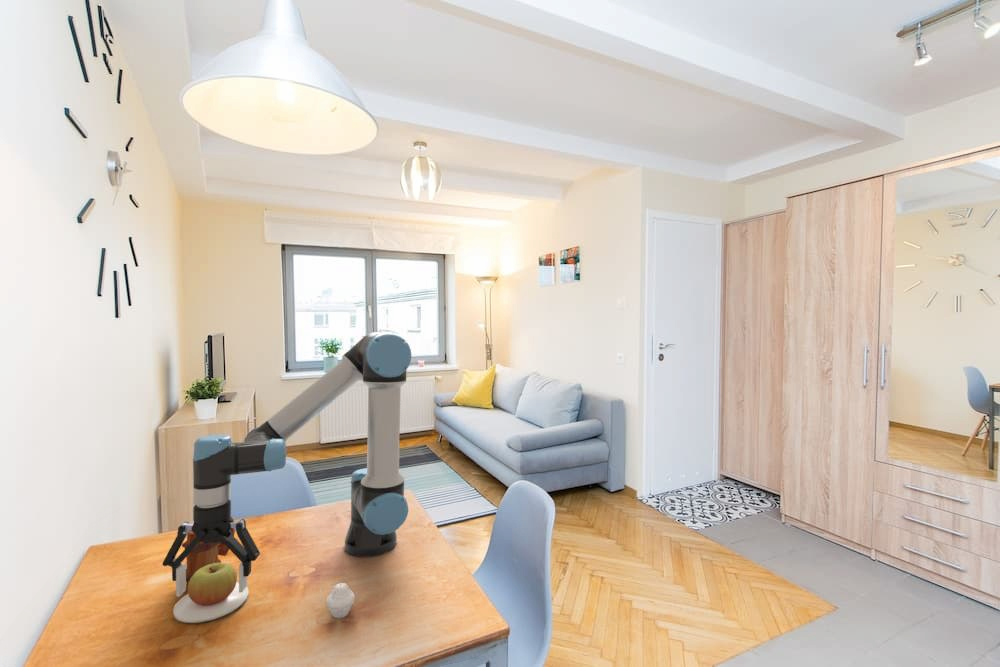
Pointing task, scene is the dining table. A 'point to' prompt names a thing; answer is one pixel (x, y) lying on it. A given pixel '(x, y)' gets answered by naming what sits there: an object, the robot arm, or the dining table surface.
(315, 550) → the dining table surface
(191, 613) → the plate
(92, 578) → the dining table surface
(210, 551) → the mug
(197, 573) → the apple
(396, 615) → the dining table surface
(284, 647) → the dining table surface
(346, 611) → the white rounded piece
